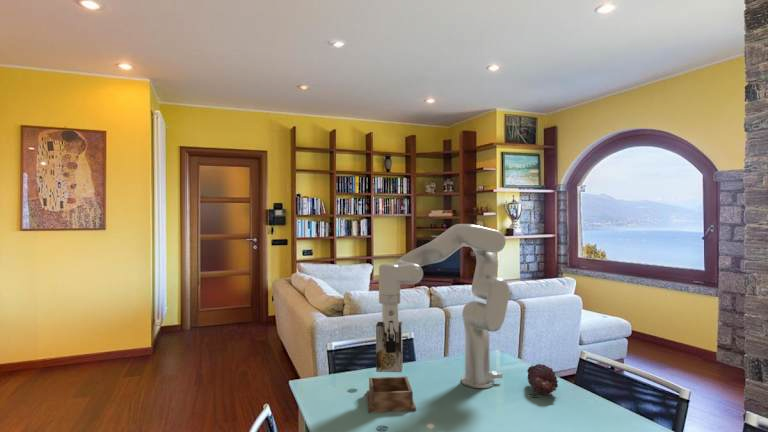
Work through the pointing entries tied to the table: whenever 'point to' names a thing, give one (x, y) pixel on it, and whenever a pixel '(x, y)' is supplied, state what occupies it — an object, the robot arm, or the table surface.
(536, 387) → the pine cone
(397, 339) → the coffee box
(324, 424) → the table surface
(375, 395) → the holder
